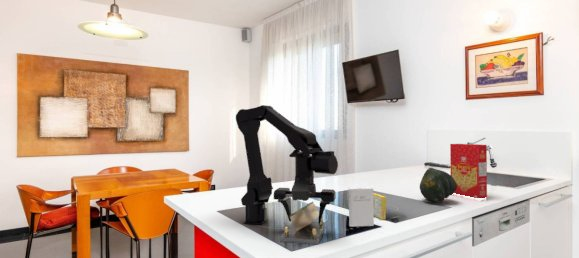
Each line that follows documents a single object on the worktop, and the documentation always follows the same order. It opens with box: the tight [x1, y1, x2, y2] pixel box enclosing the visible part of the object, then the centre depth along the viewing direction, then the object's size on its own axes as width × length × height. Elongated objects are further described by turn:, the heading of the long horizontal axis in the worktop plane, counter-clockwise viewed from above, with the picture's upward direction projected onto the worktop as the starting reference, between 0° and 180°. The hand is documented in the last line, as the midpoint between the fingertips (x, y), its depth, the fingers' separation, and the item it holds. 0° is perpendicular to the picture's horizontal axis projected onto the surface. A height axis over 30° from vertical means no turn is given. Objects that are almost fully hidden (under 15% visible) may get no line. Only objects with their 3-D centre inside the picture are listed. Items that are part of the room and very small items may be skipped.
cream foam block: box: [289, 201, 319, 231], centre depth 105 cm, size 5×11×5 cm
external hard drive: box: [348, 187, 375, 228], centre depth 109 cm, size 2×8×12 cm, turn 96°
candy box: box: [373, 192, 387, 221], centre depth 124 cm, size 16×2×8 cm, turn 14°
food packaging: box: [449, 143, 488, 198], centre depth 153 cm, size 15×5×25 cm, turn 23°
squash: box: [419, 167, 457, 203], centre depth 143 cm, size 14×15×15 cm
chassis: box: [279, 215, 327, 245], centre depth 101 cm, size 11×18×4 cm, turn 167°
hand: (304, 222), depth 101 cm, fingers open, 9 cm apart
